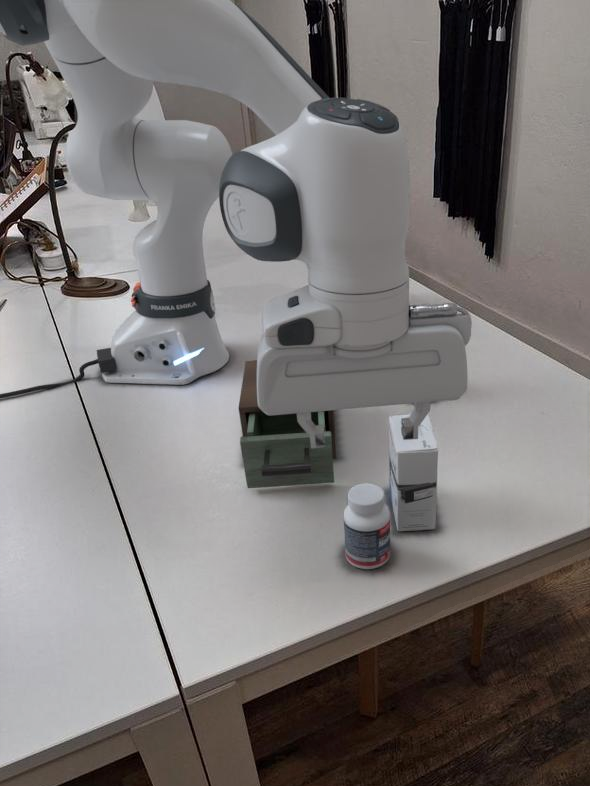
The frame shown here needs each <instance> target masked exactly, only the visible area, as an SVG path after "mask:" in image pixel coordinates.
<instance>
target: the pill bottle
mask: <svg viewBox="0 0 590 786" xmlns="http://www.w3.org/2000/svg"><path fill="white" fill-rule="evenodd" d="M385 502H386V500H385V491H384V490H383V488H382V487H381V486H379V485H377V484H375V483H367V482H365V483H359V484H356V485H353V486H352V487H351V488H350V489H349V490H348V492H347V505H346V506H345V509H344V511H343V531H344V532H343V533H344V554H345V555H344V556H345V558H346V560H347V562H348V563H349V564H350V565H351V566H353V567H355V568H357V569H362V570H374V569H377V568H380V567H382V566H383V565H385V564H386V563H387V562H388V561H389V560H390V557H391V512H390V509H389V507H388V506H387V504H386V503H385Z"/></svg>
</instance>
